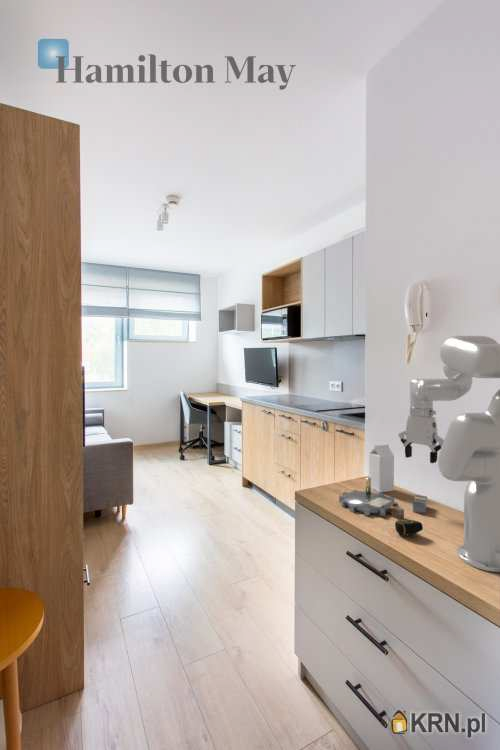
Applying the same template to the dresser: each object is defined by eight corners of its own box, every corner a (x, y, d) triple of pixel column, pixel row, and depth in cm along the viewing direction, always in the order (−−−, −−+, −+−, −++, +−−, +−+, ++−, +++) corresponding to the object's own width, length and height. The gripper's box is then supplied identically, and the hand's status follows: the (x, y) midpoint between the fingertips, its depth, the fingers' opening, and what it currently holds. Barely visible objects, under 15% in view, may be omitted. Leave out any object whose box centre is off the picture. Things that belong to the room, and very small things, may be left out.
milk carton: (393, 491, 150) (394, 446, 150) (379, 493, 148) (379, 447, 147) (382, 485, 157) (383, 442, 156) (368, 487, 155) (369, 443, 154)
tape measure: (425, 533, 109) (422, 520, 110) (408, 538, 107) (406, 525, 107) (407, 529, 115) (405, 517, 116) (391, 534, 113) (389, 521, 113)
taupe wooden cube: (403, 517, 124) (404, 509, 124) (399, 519, 122) (399, 510, 122) (396, 514, 126) (396, 506, 126) (392, 516, 125) (392, 507, 125)
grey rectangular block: (426, 507, 134) (427, 496, 134) (425, 514, 127) (425, 503, 127) (415, 505, 136) (415, 494, 136) (412, 512, 129) (413, 500, 129)
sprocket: (378, 493, 147) (378, 474, 146) (409, 514, 126) (410, 491, 126) (330, 496, 143) (330, 476, 143) (354, 518, 122) (355, 495, 122)
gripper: (450, 414, 125) (450, 463, 126) (405, 409, 140) (404, 453, 140) (439, 416, 121) (439, 466, 122) (393, 411, 135) (393, 456, 136)
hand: (420, 459), depth 131 cm, fingers open, 9 cm apart
